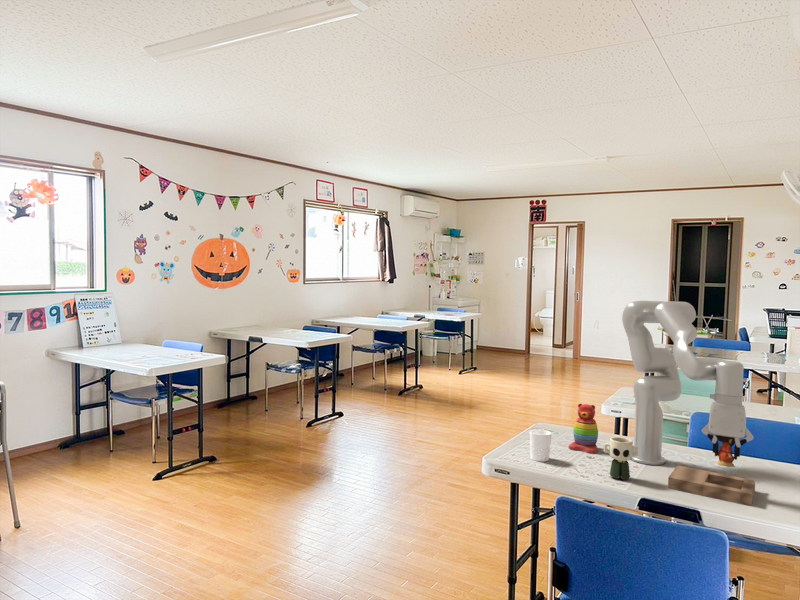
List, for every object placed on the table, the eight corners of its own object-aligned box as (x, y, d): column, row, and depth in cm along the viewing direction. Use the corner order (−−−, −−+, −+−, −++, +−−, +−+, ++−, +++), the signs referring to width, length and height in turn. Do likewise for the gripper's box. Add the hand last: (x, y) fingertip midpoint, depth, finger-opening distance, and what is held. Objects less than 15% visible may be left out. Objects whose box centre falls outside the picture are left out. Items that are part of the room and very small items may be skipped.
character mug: (602, 478, 190) (604, 440, 190) (602, 472, 197) (603, 435, 197) (637, 483, 187) (639, 444, 186) (636, 476, 194) (637, 438, 193)
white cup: (526, 460, 208) (528, 433, 208) (530, 454, 215) (531, 428, 215) (549, 463, 205) (550, 436, 205) (551, 457, 212) (552, 431, 212)
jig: (667, 488, 183) (668, 477, 183) (676, 475, 196) (677, 465, 196) (751, 506, 170) (752, 494, 170) (754, 491, 183) (755, 480, 183)
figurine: (728, 468, 177) (730, 430, 177) (711, 463, 182) (713, 426, 182) (741, 466, 180) (742, 428, 180) (723, 461, 185) (725, 424, 184)
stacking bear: (567, 449, 224) (568, 404, 224) (575, 443, 233) (577, 400, 232) (594, 454, 218) (596, 408, 218) (602, 448, 227) (604, 404, 226)
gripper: (696, 398, 182) (694, 454, 183) (759, 405, 173) (756, 465, 173) (700, 394, 188) (697, 449, 189) (760, 402, 179) (758, 459, 179)
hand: (726, 456), depth 181 cm, fingers closed on figurine, 4 cm apart
